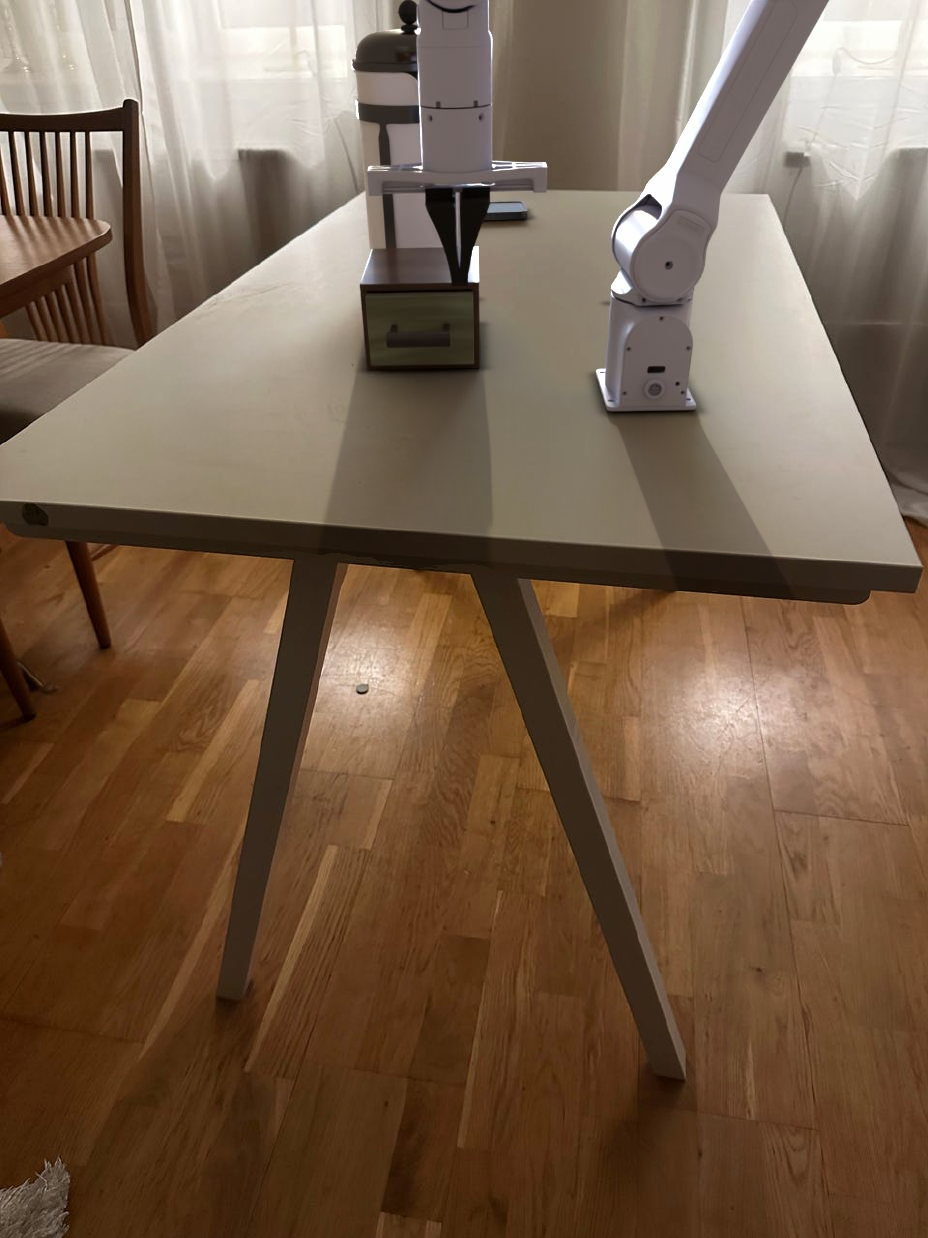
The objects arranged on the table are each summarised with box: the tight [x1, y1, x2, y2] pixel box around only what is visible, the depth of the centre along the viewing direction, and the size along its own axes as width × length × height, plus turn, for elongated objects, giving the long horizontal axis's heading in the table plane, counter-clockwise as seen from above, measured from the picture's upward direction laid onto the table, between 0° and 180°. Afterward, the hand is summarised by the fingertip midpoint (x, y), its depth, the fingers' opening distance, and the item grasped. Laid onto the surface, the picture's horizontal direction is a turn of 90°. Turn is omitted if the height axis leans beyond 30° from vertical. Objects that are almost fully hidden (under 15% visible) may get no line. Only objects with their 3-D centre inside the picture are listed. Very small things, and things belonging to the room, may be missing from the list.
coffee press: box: [350, 0, 461, 255], centre depth 104 cm, size 17×16×30 cm
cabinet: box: [359, 246, 481, 371], centre depth 94 cm, size 13×11×8 cm
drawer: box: [365, 290, 474, 366], centre depth 91 cm, size 17×10×7 cm, turn 0°
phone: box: [484, 200, 529, 221], centre depth 145 cm, size 8×1×15 cm
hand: (459, 282), depth 79 cm, fingers closed
